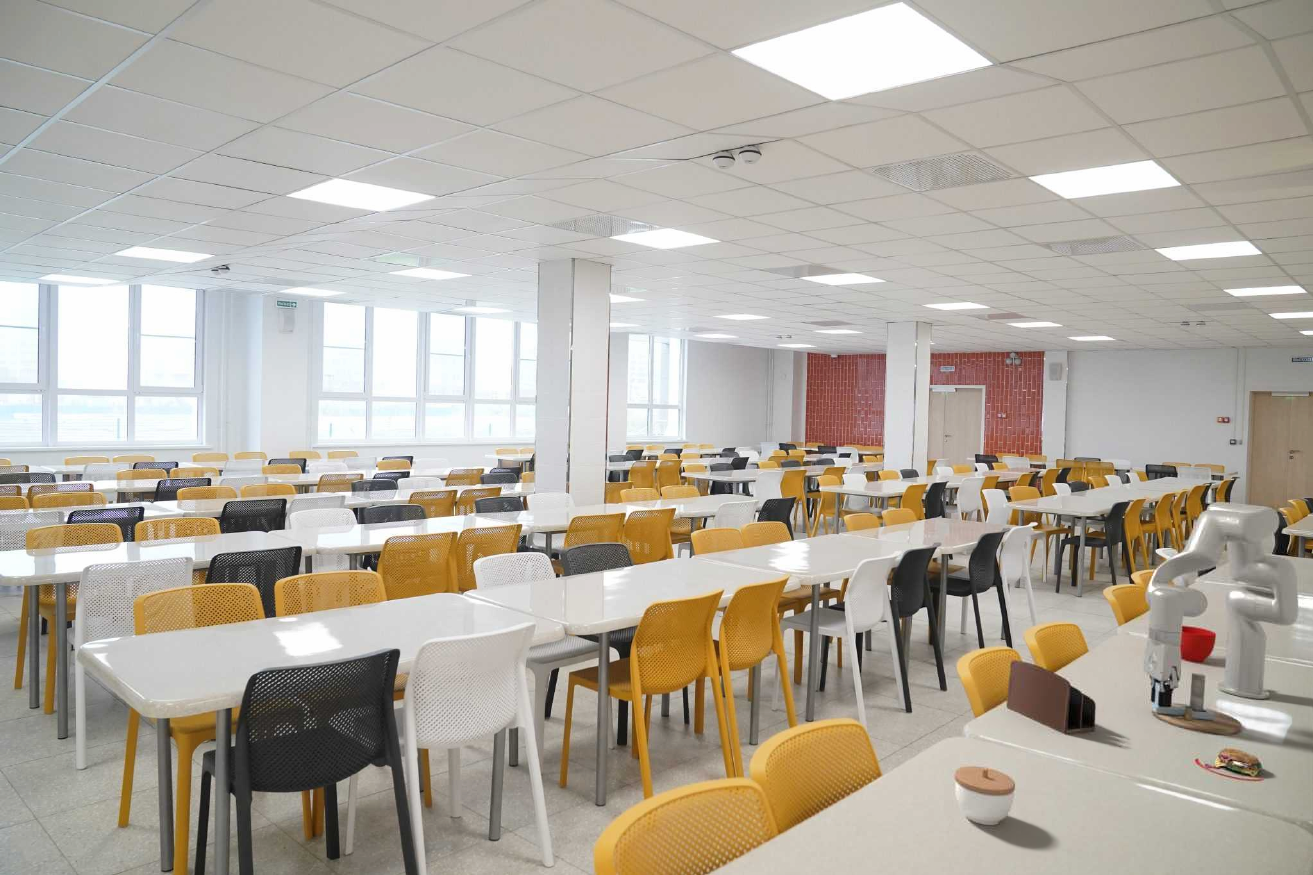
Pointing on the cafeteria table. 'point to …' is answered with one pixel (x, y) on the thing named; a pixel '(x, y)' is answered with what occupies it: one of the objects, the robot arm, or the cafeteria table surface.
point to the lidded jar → (984, 794)
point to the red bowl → (1196, 643)
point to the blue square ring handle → (1179, 708)
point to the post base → (1204, 724)
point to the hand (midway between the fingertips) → (1160, 703)
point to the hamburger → (1235, 763)
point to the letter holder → (1049, 699)
